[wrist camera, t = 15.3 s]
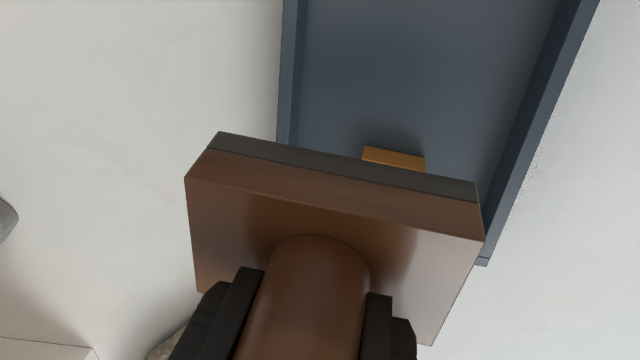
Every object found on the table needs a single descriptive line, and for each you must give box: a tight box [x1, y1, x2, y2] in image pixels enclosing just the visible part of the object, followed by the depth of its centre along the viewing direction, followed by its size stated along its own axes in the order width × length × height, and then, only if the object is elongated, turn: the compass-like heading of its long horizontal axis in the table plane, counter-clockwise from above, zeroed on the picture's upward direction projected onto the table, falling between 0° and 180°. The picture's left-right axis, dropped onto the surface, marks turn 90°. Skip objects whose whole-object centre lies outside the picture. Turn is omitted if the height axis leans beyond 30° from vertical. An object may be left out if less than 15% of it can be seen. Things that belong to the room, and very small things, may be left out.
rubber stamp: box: [184, 131, 486, 360], centre depth 11 cm, size 5×8×8 cm, turn 83°
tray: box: [276, 0, 600, 267], centre depth 24 cm, size 22×15×3 cm
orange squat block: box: [361, 145, 426, 172], centre depth 27 cm, size 4×4×2 cm
